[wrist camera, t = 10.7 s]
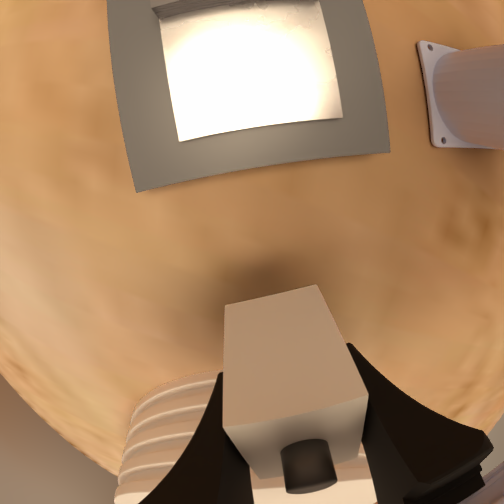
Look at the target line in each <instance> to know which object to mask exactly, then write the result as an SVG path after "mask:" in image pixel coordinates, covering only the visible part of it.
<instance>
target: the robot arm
mask: <svg viewBox="0 0 504 504" xmlns="http://www.w3.org/2000/svg"><path fill="white" fill-rule="evenodd" d="M417 47H418V52H419V56H420V61H421V66H422V71H423V77H424V82H425V89H426V95H427V103H428V111H429V120H430V132H431V142H432V144H433V145H434V146H435V147H455V148H486V149H500V150H504V44H503V45H494V46H486V47H479V48H473V49H467V50H462V51H461V50H458V49H455V48H451V47H448V46H444V45H441V44H437V43H433V42H428V41H424V40H421V41H419V42H418V43H417ZM428 47H429V48H430V50H429V49H428ZM442 138H443V142H441V139H442ZM346 346H347V348H348V350H349V352H350V354H351V356H352V359H353V361H354V363H355V365H356V367H357V369H358V372H359V374H360V376H361V378H362V381H363V383H364V385H365V387H366V389H367V392H368V394H369V396H368V403H367V410H366V416H365V422H364V428H363V434H362V439H361V442H362V445H363V448H364V451H365V455H366V458H367V462H368V465H369V469H370V473H371V477H372V481H373V485H374V489H375V494H376V498H377V503H378V504H504V462H502V463H501V464H500V465H498V466H497V467H496V468H494V469H493V470H492V471H491V472H489V473H488V474H487V475H485V476H484V477H482V476H481V474H480V471H482V468H481V466H480V463H481V462H482V461H483V460H484V459H485V458H486V457H487V456H488V455H489V454H490V453H491V452H492V451H493V448H494V447H493V445H492V443H491V442H490V440H489V438H488V437H487V436H486V434H485V433H484V432H483V431H482V430H478V429H475V428H472V427H469V426H466V425H463V424H460V423H458V422H455V421H453V420H451V419H448V418H446V417H444V416H442V415H440V414H438V413H436V412H434V411H432V410H430V409H429V408H427V407H425V406H424V405H422V404H420V403H419V402H417V401H416V400H414V399H413V398H411V397H410V396H408V395H407V394H405V393H404V392H403V391H401V390H400V389H399V388H397V387H396V386H395V385H394V384H392V383H391V382H390V381H389V380H388V379H386V378H385V377H384V376H383V375H382V374H381V373H380V372H379V371H378V370H376V369H375V368H374V367H373V366H372V365H371V364H370V363H369V362H368V361H367V360H366V359H365V358H364V357H363V356H362V355H361V353H360V352H359V351H358V350H357V349H356V348H355V347H354V346H353V344H351V343H347V344H346ZM138 504H254V498H253V491H252V484H251V476H250V466H249V464H248V463H247V462H246V460H245V459H244V458H243V456H242V455H241V453H240V452H239V451H238V449H237V448H236V446H235V445H234V443H233V442H232V440H231V439H230V437H229V436H228V434H227V433H226V431H225V430H224V428H223V372H220V373H219V374H218V376H217V379H216V383H215V386H214V389H213V391H212V394H211V397H210V399H209V402H208V404H207V407H206V409H205V412H204V414H203V416H202V418H201V421H200V423H199V425H198V427H197V429H196V431H195V433H194V435H193V436H192V438H191V440H190V442H189V443H188V445H187V447H186V448H185V450H184V452H183V453H182V455H181V456H180V458H179V459H178V460H177V462H176V463H175V465H174V466H173V467H172V469H171V470H170V471H169V472H168V474H167V475H166V476H165V477H164V478H163V479H162V480H161V482H160V483H159V484H158V485H157V486H156V487H155V488H154V489H153V490H152V491H151V492H150V493H149V494H148V495H147V496H146V497H145V498H144V499H143V500H141V501H140V502H139V503H138Z"/></svg>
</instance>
